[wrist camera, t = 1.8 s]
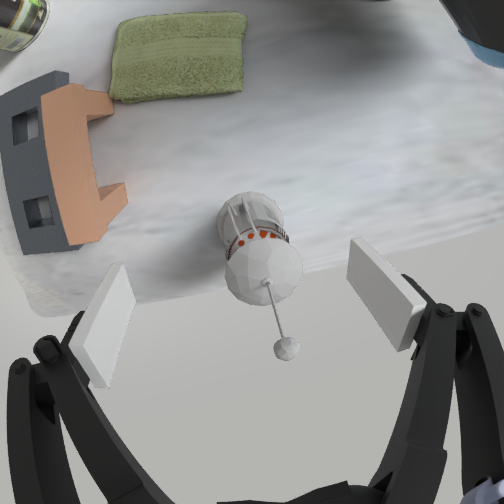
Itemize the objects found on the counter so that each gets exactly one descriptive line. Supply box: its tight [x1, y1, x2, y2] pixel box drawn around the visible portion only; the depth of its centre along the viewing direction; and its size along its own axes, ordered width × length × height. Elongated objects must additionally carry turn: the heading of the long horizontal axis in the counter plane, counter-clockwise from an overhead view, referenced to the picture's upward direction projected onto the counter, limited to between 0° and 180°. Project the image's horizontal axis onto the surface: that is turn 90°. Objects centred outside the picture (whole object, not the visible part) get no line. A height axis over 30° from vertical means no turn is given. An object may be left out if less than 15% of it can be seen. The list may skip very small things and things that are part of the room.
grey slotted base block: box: [0, 70, 85, 255], centre depth 30 cm, size 26×12×4 cm, turn 1°
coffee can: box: [0, 0, 49, 52], centre depth 13 cm, size 10×10×14 cm
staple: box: [41, 83, 128, 246], centre depth 28 cm, size 17×4×12 cm, turn 4°
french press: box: [216, 192, 304, 361], centre depth 29 cm, size 10×12×25 cm
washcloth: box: [109, 11, 247, 103], centre depth 28 cm, size 13×18×3 cm
